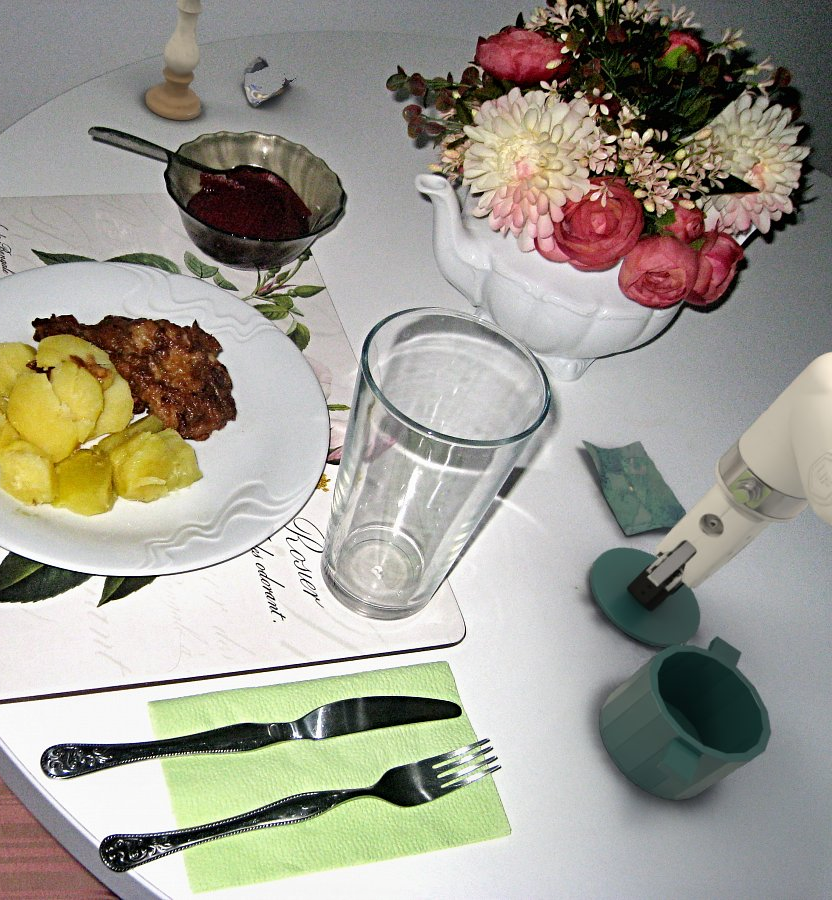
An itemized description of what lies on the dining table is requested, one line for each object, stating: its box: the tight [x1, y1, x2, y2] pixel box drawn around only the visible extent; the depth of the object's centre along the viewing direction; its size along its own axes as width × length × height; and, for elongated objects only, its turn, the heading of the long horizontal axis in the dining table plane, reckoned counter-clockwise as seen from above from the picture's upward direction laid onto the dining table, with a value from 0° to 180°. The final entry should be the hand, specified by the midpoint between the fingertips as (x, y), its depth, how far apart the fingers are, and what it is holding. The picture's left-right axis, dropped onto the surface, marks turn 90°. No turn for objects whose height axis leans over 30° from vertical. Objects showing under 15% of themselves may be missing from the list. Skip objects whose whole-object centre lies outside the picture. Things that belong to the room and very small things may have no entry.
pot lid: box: [589, 547, 701, 648], centre depth 89 cm, size 11×11×7 cm
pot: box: [599, 635, 772, 801], centre depth 78 cm, size 10×16×8 cm, turn 142°
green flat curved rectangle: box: [581, 439, 687, 536], centre depth 102 cm, size 13×8×2 cm, turn 10°
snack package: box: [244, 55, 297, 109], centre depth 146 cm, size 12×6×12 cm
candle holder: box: [145, 0, 204, 121], centre depth 131 cm, size 9×9×20 cm
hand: (650, 590), depth 90 cm, fingers closed on pot lid, 3 cm apart
